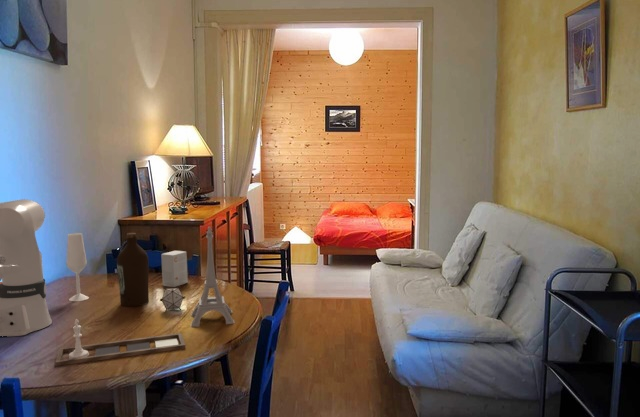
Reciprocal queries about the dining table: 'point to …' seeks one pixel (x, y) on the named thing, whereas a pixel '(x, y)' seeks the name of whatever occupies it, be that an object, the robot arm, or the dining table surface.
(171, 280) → the small box
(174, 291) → the game die
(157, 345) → the pad
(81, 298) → the champagne flute
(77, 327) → the chess piece
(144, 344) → the tiles
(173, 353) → the dining table surface
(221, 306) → the eiffel tower
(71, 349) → the tray
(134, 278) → the olive oil
